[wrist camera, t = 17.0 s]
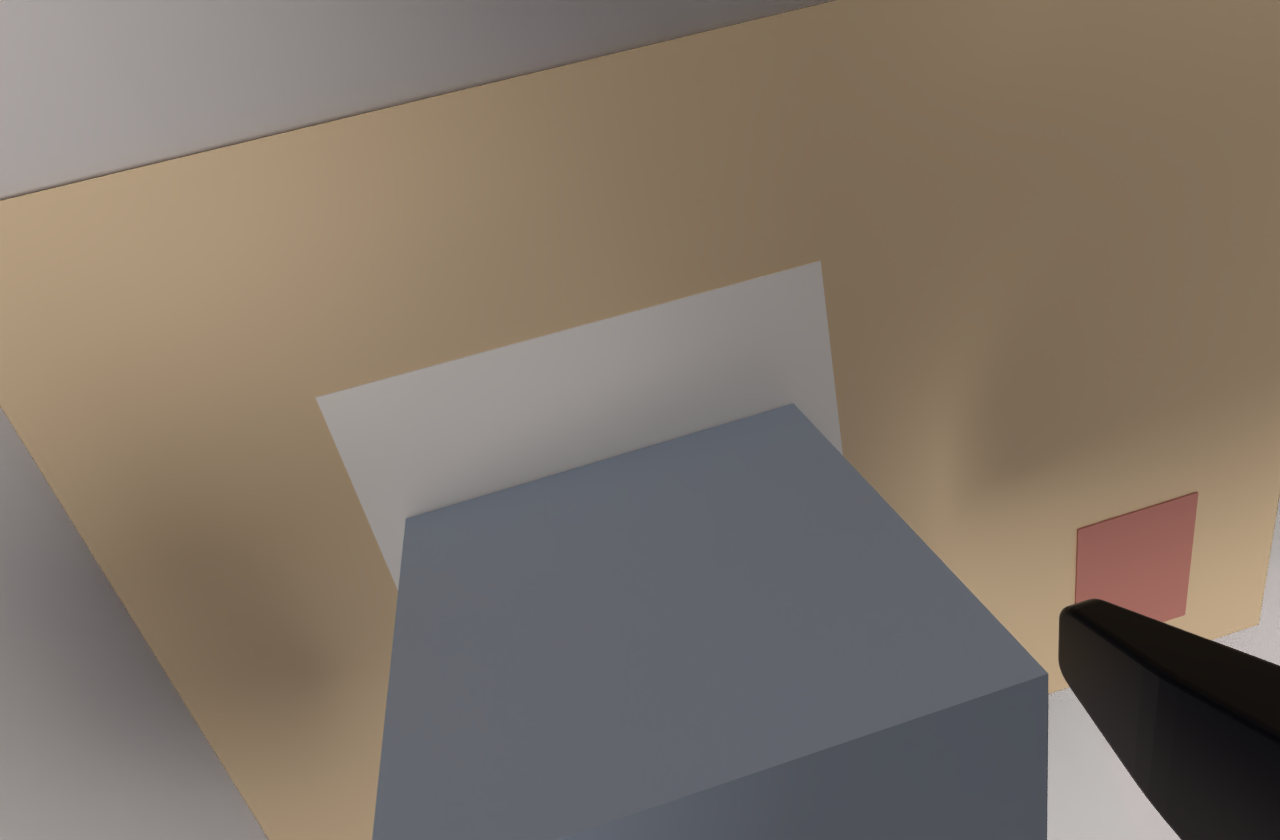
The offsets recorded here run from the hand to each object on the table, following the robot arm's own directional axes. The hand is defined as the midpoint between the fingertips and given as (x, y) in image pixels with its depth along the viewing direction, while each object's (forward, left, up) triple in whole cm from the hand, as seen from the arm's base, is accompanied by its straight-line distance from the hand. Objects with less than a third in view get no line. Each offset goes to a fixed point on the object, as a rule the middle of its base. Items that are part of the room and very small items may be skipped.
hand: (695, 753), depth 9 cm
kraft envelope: (+2, +2, -3) cm, 4 cm away
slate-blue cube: (0, 0, -2) cm, 2 cm away
